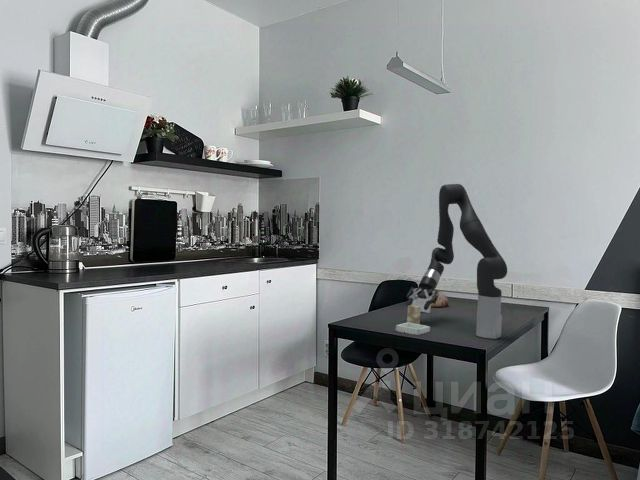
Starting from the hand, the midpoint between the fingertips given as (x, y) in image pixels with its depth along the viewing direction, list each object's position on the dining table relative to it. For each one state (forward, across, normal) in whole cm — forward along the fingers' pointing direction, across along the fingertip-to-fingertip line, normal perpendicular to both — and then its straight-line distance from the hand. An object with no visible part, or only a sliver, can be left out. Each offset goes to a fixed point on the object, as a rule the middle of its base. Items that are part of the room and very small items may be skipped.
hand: (416, 307), depth 228 cm
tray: (+15, +6, -4) cm, 17 cm away
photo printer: (-18, -16, +30) cm, 38 cm away
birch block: (+7, 0, +4) cm, 8 cm away
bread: (-35, -22, +48) cm, 63 cm away
